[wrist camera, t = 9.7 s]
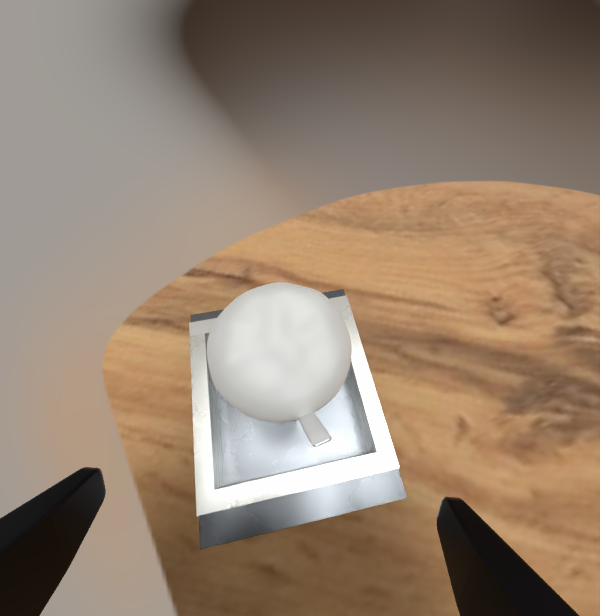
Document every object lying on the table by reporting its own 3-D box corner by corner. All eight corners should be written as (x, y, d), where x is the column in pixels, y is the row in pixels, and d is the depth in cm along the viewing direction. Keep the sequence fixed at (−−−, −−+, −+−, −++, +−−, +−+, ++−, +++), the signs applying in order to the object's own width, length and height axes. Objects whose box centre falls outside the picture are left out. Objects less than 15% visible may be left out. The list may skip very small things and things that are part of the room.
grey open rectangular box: (389, 490, 17) (423, 504, 13) (216, 533, 16) (185, 564, 12) (337, 308, 22) (348, 272, 18) (204, 332, 21) (179, 300, 17)
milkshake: (263, 466, 15) (218, 487, 6) (236, 368, 17) (173, 275, 8) (345, 432, 16) (414, 406, 7) (309, 342, 18) (324, 233, 9)
